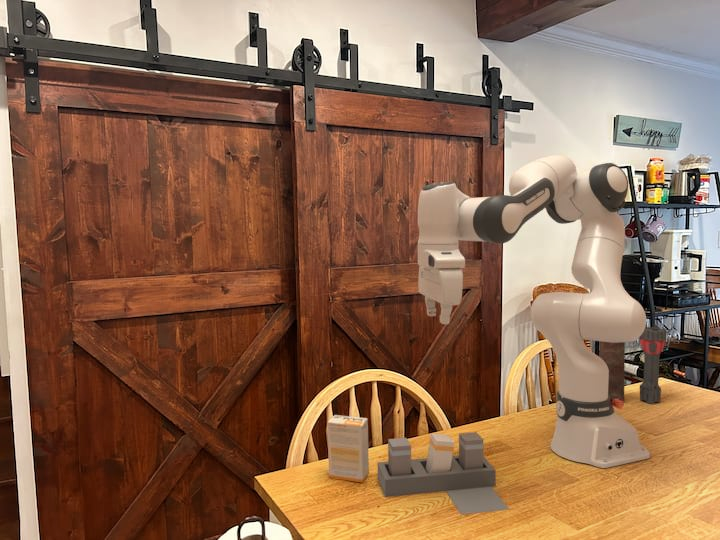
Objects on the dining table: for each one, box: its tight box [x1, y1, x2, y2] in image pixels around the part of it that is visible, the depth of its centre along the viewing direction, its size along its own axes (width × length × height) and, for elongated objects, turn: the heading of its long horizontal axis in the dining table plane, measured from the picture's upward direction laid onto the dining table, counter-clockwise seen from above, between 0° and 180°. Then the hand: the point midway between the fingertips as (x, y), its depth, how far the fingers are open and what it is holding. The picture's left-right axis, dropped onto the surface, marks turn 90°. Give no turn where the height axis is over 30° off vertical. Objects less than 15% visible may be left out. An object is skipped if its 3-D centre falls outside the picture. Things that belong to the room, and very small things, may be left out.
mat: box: [445, 487, 510, 515], centre depth 107 cm, size 10×10×1 cm
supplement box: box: [326, 414, 370, 484], centre depth 118 cm, size 8×5×13 cm, turn 71°
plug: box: [426, 432, 455, 473], centre depth 114 cm, size 4×4×8 cm
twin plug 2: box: [458, 431, 485, 470], centre depth 115 cm, size 4×4×8 cm
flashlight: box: [638, 325, 667, 405], centre depth 165 cm, size 8×8×23 cm
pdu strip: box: [377, 454, 497, 498], centre depth 114 cm, size 24×8×4 cm, turn 99°
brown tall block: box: [598, 341, 626, 403], centre depth 165 cm, size 8×7×20 cm
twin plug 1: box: [387, 437, 412, 476], centre depth 113 cm, size 4×4×8 cm
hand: (437, 319), depth 116 cm, fingers open, 8 cm apart
